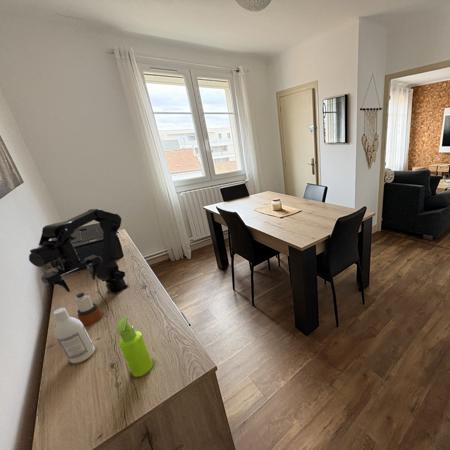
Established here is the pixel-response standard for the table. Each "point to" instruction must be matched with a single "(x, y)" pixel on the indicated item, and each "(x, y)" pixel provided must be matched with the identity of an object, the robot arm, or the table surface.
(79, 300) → the white bottle
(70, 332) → the bath foam
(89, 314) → the amber bottle
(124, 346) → the soap dispenser
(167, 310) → the table surface
